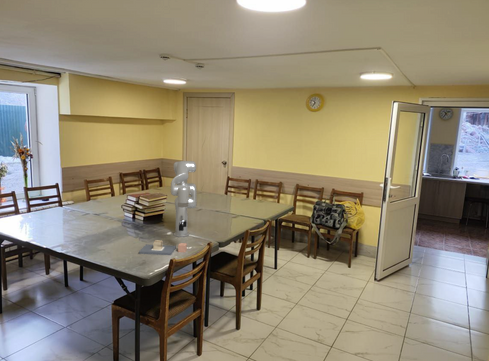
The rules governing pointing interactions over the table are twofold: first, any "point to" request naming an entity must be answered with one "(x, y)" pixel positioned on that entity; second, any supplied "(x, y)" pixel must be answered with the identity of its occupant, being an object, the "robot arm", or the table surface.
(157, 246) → the maple cube
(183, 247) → the terracotta cube
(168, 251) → the slate baseplate
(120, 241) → the table surface
